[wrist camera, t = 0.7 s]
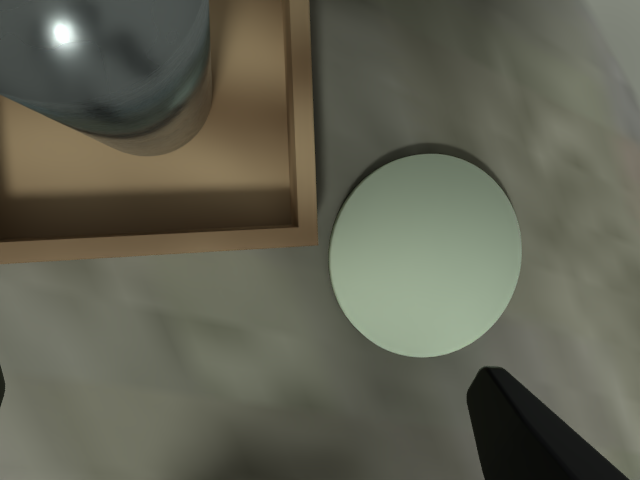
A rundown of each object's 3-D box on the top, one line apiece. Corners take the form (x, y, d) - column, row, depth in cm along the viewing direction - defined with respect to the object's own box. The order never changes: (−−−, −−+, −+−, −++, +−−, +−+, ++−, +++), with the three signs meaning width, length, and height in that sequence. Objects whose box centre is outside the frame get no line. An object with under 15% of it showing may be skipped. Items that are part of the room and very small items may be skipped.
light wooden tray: (307, 240, 23) (318, 245, 20) (-16, 258, 20) (-49, 267, 17) (295, -64, 21) (305, -98, 19) (-53, -91, 19) (-93, -134, 16)
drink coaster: (464, 381, 25) (470, 385, 25) (293, 307, 23) (295, 310, 22) (544, 208, 25) (552, 208, 25) (383, 118, 23) (387, 116, 22)
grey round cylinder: (178, 179, 21) (129, 155, 9) (47, 117, 19) (-206, -3, 8) (233, 62, 21) (257, -111, 9) (107, -8, 20) (-56, -312, 8)
